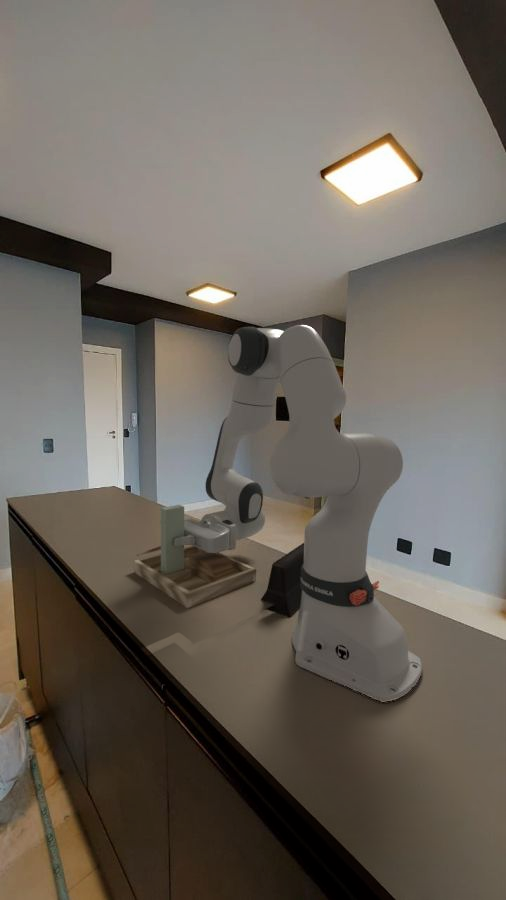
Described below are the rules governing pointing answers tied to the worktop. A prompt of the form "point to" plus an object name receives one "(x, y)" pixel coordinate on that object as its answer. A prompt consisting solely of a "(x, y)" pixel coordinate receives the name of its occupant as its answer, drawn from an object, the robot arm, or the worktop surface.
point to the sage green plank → (169, 529)
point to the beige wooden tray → (192, 579)
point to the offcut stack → (209, 566)
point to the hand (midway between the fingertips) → (169, 540)
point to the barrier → (286, 583)
